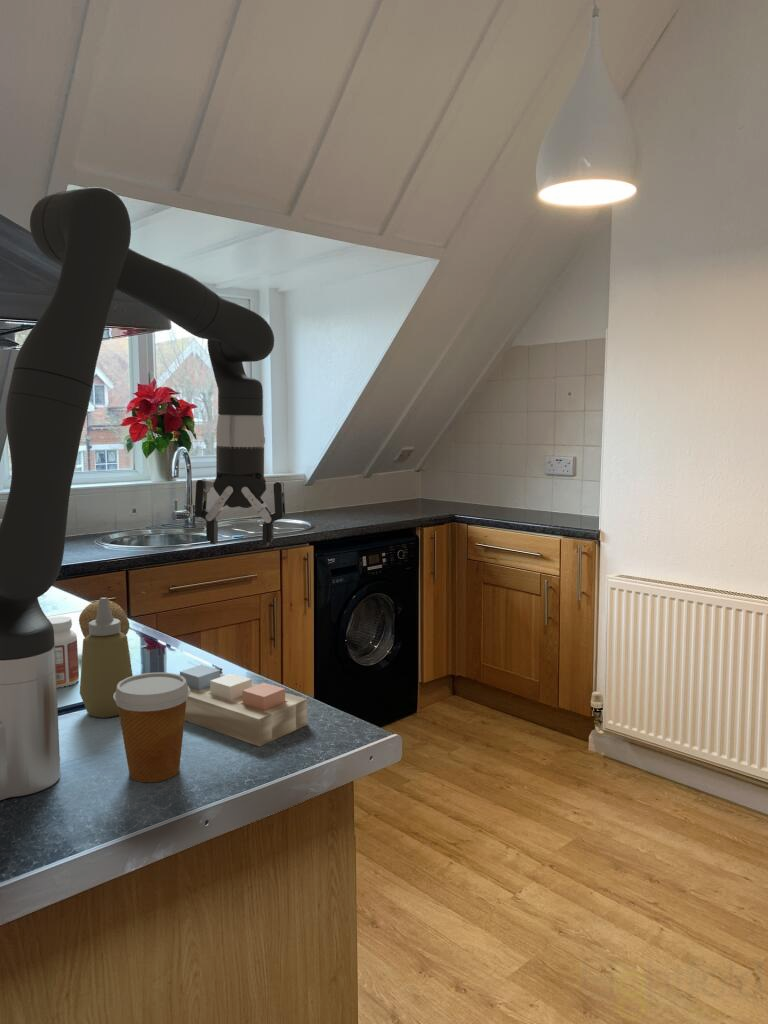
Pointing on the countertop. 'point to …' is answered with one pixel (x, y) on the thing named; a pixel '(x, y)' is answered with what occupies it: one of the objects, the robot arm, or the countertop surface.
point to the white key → (229, 686)
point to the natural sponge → (91, 613)
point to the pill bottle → (65, 651)
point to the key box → (245, 716)
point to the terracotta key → (263, 696)
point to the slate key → (200, 676)
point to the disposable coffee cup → (152, 723)
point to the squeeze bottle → (103, 663)
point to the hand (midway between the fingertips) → (240, 544)
